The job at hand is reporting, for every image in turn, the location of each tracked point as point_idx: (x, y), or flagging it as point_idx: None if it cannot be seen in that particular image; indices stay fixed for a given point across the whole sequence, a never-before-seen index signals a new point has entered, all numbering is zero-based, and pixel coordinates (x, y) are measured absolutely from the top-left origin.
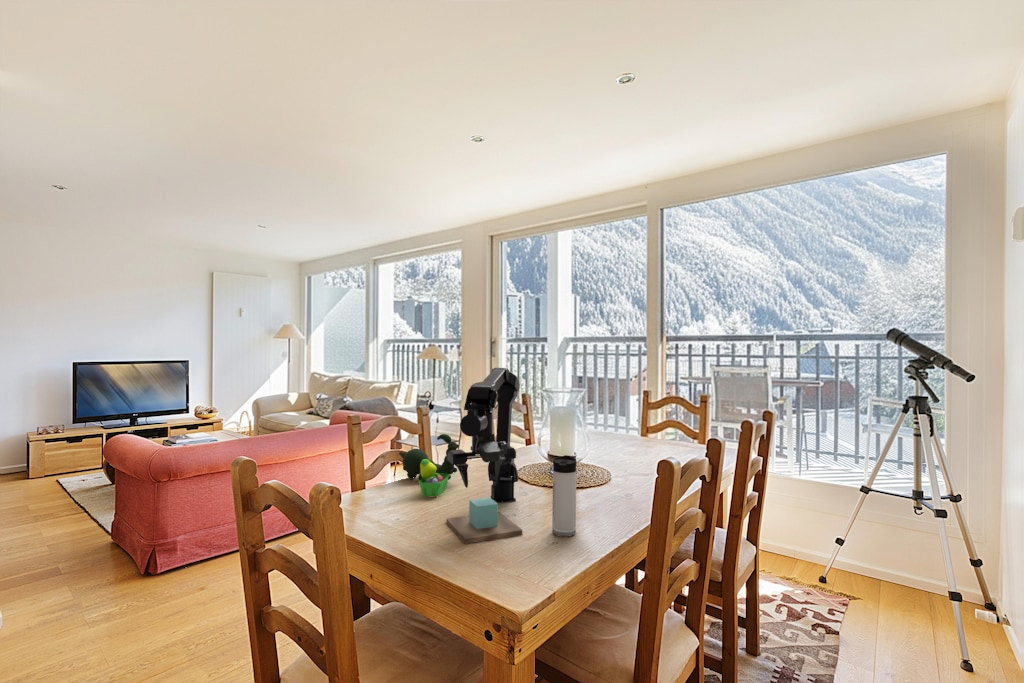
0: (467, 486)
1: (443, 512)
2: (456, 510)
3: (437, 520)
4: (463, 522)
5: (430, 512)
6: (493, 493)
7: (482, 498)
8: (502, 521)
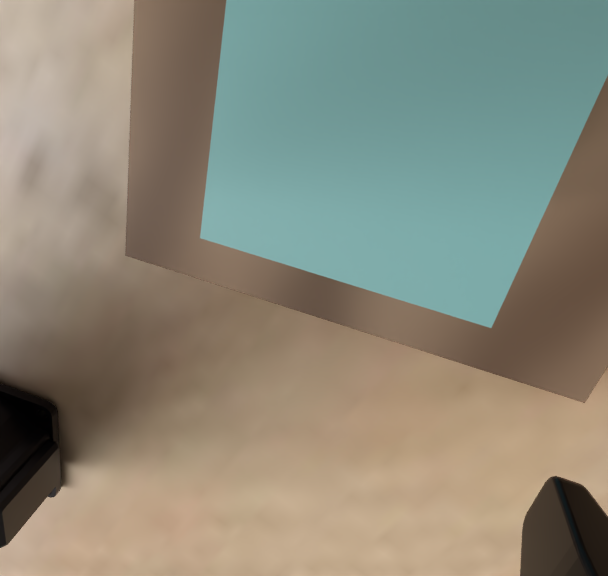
0: (564, 489)
1: (444, 520)
2: (348, 489)
3: (592, 453)
4: (541, 236)
5: (514, 571)
6: (34, 481)
7: (301, 267)
8: (215, 16)
